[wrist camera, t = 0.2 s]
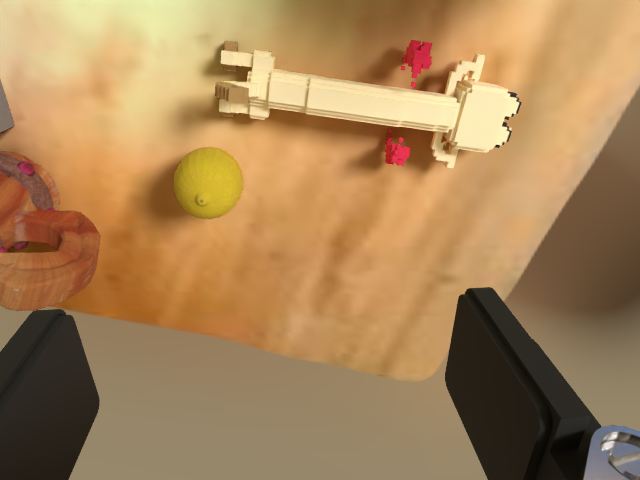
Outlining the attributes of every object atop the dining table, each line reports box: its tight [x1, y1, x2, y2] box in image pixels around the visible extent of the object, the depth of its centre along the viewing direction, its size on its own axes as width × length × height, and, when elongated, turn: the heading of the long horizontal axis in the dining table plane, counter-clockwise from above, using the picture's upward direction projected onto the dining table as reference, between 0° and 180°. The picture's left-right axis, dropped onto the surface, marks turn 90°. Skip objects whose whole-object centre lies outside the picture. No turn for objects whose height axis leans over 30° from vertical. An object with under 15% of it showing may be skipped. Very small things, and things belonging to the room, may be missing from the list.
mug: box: [0, 151, 100, 311], centre depth 33 cm, size 15×8×15 cm, turn 70°
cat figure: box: [215, 40, 521, 168], centre depth 35 cm, size 10×9×25 cm
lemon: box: [173, 147, 243, 219], centre depth 37 cm, size 6×6×8 cm
